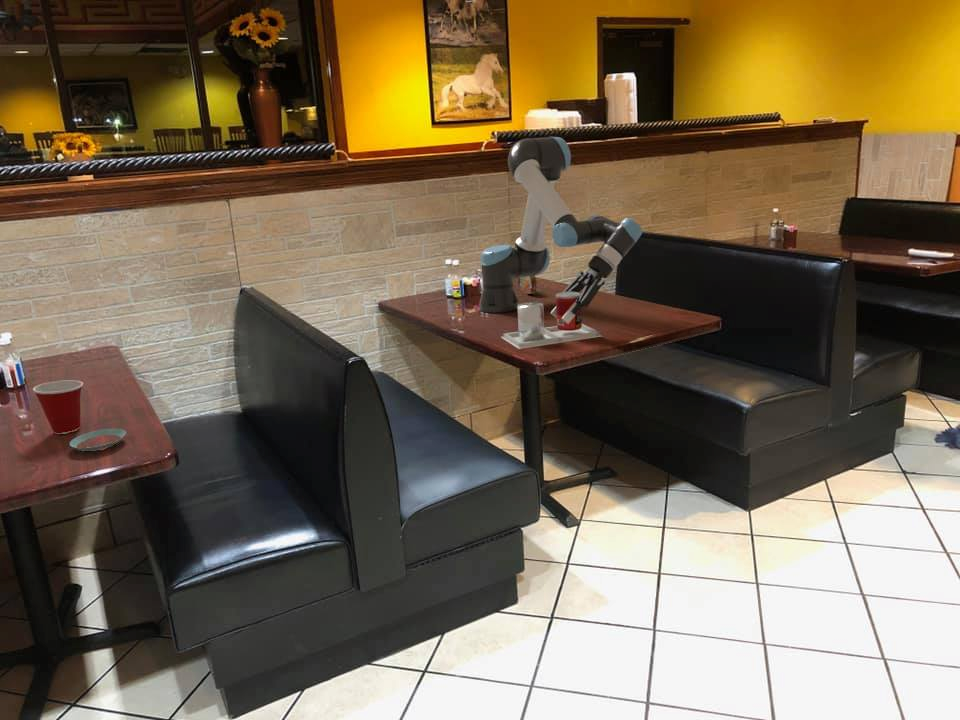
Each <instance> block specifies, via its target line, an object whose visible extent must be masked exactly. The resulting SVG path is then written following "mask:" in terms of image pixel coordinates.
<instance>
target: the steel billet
mask: <svg viewBox="0 0 960 720" xmlns="http://www.w3.org/2000/svg"><path fill="white" fill-rule="evenodd" d="M517 307H518V309H517V322H518V326H517V327H518V332H519V341H521V342H530V341H536V340H543V339H545V337H544V328H545V318H544V317H545V316H544V314H545V312H544V310H545V309H544V304H543V303H541V302H536V301H535V302H534V301H533V302H532V301H531V302H530V301H529V302H522V303H519V305H518V306H517Z"/></svg>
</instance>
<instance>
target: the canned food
mask: <svg viewBox="0 0 960 720" xmlns="http://www.w3.org/2000/svg"><path fill="white" fill-rule="evenodd" d="M581 293H582V292H579V293H578V292H563V291H562V292H561V291H560V292H558V293H555V307H556V315H557V318H556V326H557V327H558V329H559V330H564V331H573V330H578V329H580V328H581V326H582V324H583V315H582V314H583V313H582V310H583V309H582V307H581V309H580V310H579V311H578V313H577V314H576V315H575V316H574V317H573V319H572V320H571V321H570V322H569V324H567V323H566V322H565V321H564V320H563V319H562V317H563V316H564V315H565V313H566V312H567V311H568V310H569V308H570V307H571V306H572V305H573V303H574V302H575V300H578V299H579V297H580V295H581ZM576 303H577V302H576Z"/></svg>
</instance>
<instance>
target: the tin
mask: <svg viewBox="0 0 960 720" xmlns="http://www.w3.org/2000/svg"><path fill="white" fill-rule="evenodd" d="M517 279H518V281H517V283H518V288H519V291H520V290H523V291H525V292H527V293H529V294H534V295H535V294H536V293H537V278H536V275H535V276H527V277H521V278H517Z"/></svg>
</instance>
